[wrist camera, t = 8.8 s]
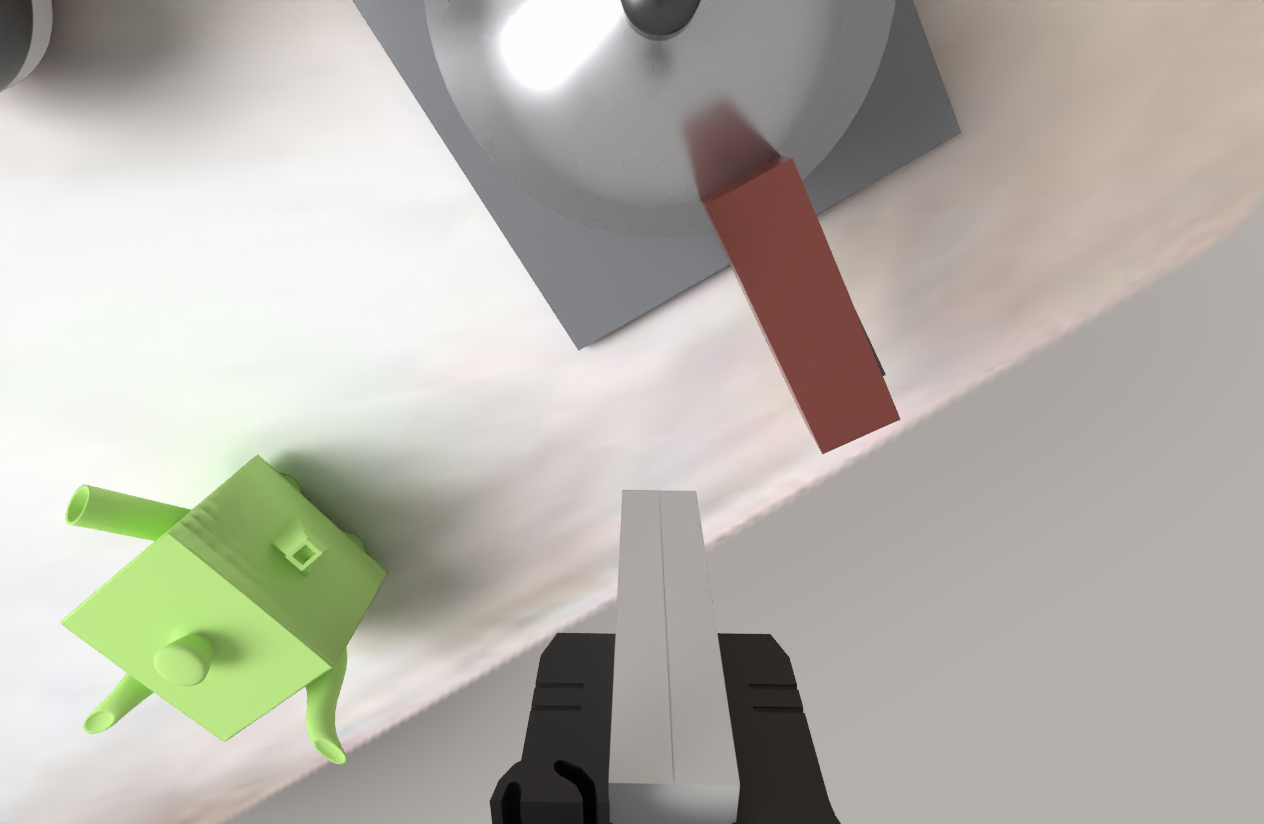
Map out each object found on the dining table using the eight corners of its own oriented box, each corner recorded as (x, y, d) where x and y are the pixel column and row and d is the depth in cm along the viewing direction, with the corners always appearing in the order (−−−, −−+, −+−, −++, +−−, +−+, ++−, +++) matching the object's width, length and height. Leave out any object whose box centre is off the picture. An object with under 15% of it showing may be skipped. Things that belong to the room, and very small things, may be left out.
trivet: (756, -393, 26) (760, -413, 25) (951, 132, 33) (960, 132, 32) (324, -53, 31) (314, -58, 30) (580, 345, 38) (578, 350, 37)
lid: (340, -109, 21) (289, -149, 18) (776, -426, 18) (803, -536, 15) (677, 479, 29) (682, 520, 26) (1016, 323, 26) (1065, 348, 23)
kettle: (404, 640, 46) (336, 787, 36) (198, 624, 46) (70, 767, 36) (392, 448, 41) (308, 557, 30) (157, 428, 40) (-10, 531, 30)
